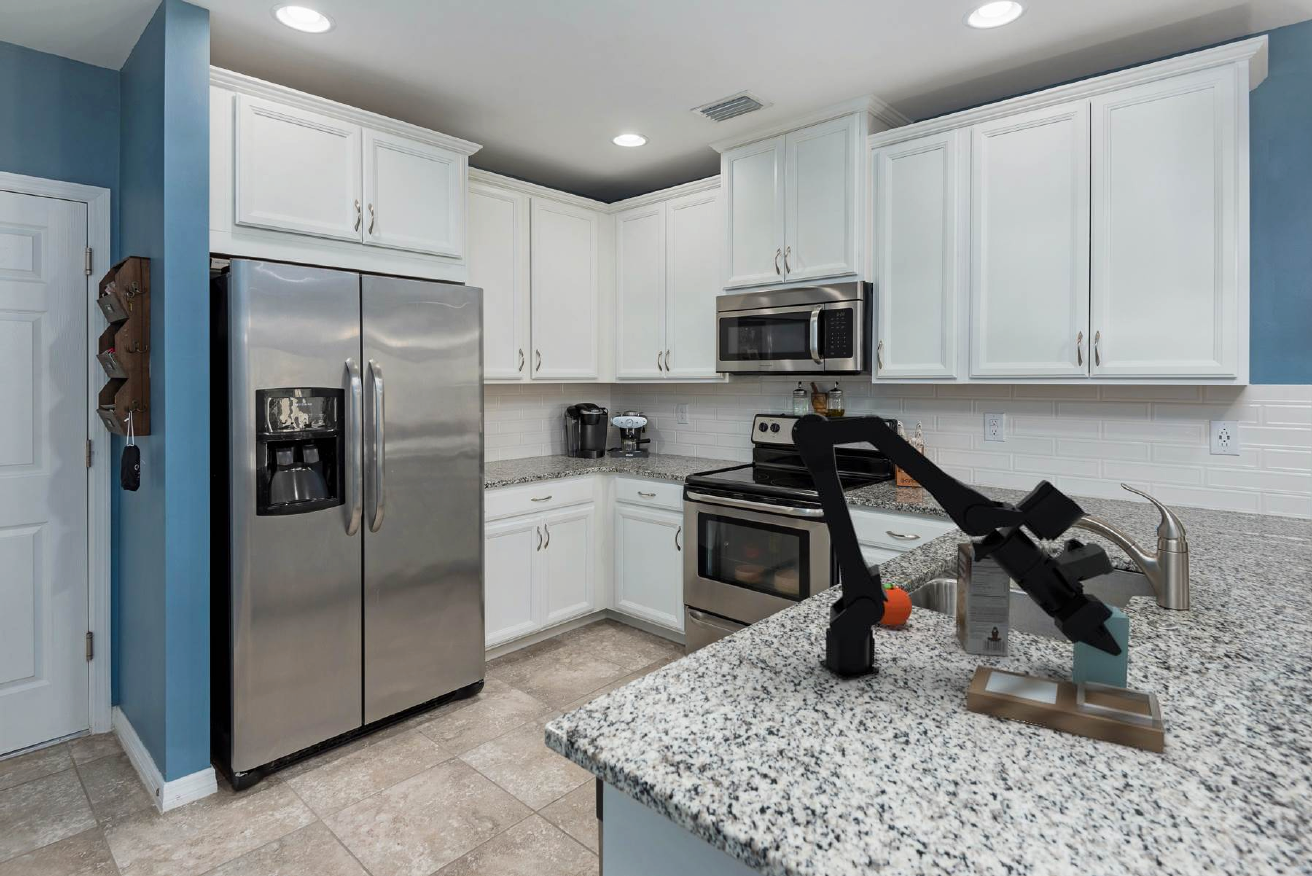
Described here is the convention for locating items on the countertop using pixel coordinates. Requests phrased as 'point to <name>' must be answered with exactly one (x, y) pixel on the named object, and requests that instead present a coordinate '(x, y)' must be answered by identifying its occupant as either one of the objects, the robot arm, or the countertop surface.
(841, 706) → the countertop surface
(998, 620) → the coffee box
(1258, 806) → the countertop surface
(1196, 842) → the countertop surface
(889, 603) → the clementine
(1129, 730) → the walnut base plate
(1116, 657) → the teal pillar
